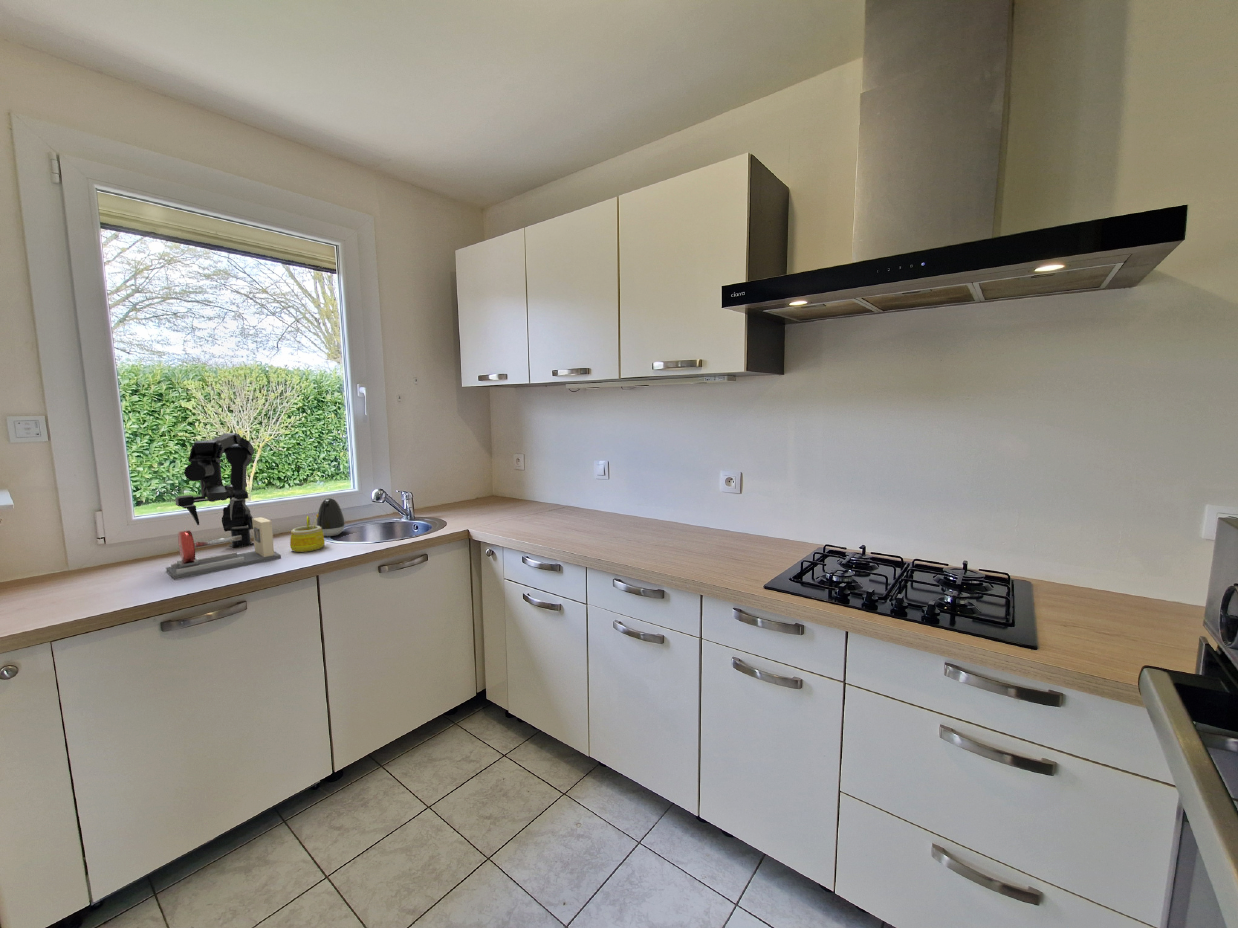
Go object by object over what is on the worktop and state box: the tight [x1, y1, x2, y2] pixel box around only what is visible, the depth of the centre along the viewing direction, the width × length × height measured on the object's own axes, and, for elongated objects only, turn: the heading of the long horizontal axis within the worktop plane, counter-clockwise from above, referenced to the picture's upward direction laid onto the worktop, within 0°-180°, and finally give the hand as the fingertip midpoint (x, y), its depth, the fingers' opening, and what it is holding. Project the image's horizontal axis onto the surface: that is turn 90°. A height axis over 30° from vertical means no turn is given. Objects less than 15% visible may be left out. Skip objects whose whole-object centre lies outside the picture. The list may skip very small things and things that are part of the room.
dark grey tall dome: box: [315, 497, 346, 537], centre depth 204 cm, size 10×10×15 cm
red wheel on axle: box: [176, 530, 242, 569], centre depth 163 cm, size 10×16×12 cm, turn 140°
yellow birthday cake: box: [289, 513, 325, 553], centre depth 184 cm, size 13×11×12 cm
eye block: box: [165, 516, 282, 581], centre depth 166 cm, size 13×28×13 cm, turn 140°
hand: (215, 522), depth 171 cm, fingers open, 9 cm apart
